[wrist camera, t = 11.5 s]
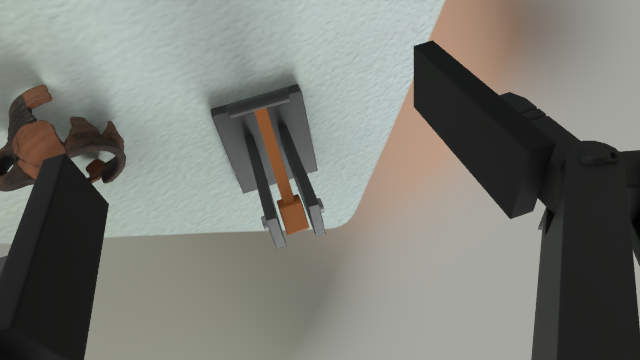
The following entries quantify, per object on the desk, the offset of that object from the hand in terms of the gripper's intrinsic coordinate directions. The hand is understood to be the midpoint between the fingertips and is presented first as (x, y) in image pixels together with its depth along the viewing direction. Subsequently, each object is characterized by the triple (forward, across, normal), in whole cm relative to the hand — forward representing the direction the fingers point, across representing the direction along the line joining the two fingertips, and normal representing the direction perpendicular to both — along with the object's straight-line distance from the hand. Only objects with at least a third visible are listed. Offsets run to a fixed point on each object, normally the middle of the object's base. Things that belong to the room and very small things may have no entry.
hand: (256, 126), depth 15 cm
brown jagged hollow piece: (+26, -20, -11) cm, 34 cm away
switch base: (+26, 0, -20) cm, 33 cm away
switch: (+16, 0, -16) cm, 22 cm away
